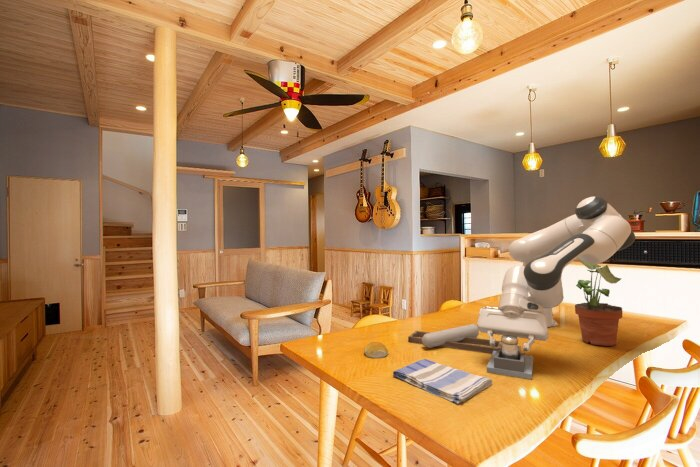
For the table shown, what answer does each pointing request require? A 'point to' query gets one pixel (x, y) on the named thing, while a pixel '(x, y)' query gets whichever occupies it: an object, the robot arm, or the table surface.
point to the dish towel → (443, 380)
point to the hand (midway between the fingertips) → (508, 347)
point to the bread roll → (376, 350)
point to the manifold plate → (511, 365)
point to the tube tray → (485, 349)
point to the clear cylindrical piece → (509, 347)
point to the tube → (449, 335)
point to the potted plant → (598, 310)
